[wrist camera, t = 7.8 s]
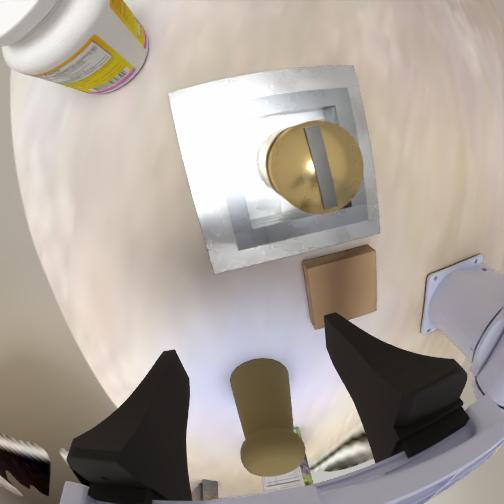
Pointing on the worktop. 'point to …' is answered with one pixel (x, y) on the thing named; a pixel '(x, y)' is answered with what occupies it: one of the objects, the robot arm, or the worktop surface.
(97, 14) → the supplement bottle
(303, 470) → the syrup box
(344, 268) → the stand
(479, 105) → the worktop surface
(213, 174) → the grey square tray
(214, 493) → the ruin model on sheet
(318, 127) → the slotted brass cylinder
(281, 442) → the cork
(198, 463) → the worktop surface
